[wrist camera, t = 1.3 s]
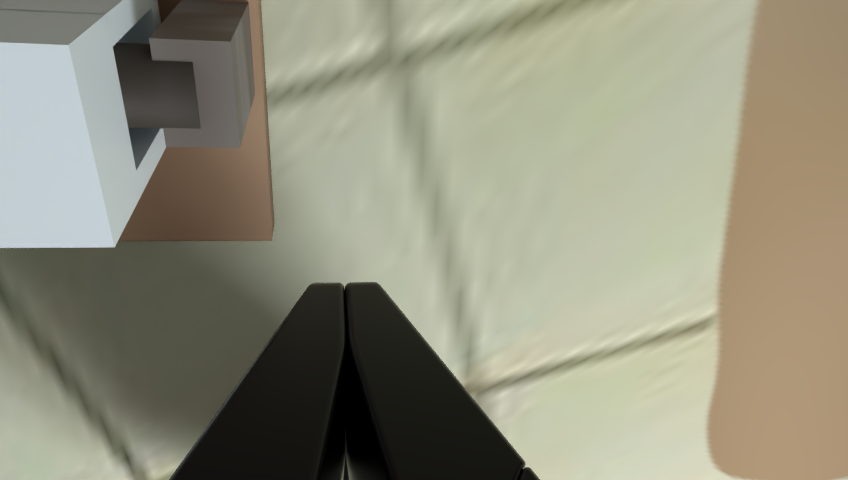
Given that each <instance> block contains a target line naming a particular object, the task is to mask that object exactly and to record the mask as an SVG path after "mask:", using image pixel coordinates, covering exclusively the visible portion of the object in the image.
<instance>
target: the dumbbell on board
mask: <svg viewBox="0 0 848 480" xmlns="http://www.w3.org/2000/svg"><path fill="white" fill-rule="evenodd" d="M158 7H159V14H160V20H161V25H160V26H159V27H158V28H157V29H156V30H155V32H154V33H153V34H152V35H151V36H150V37H149V43H150V44H141V43H116V44H115V45H114V46H113V51H114V56H115V61H116V67H117V72H118V77H119V82H120V88H121V93H122V98H123V103H124V109H125V114H126V119H127V124H128V128H158V129H163V131H164V137H165V144H166V148H165V150H164V152H163V154H162V156H161V158H160V160H159V162H158V164H157V166H156V168H155V170H154V172H153V174H152V176H151V178H150V180H149V181H148V183H147V185H146V187H145V189H144V191H143V193H142V195H141V197H140V199H139V201H138V203H137V205H136V207H135V209H134V211H133V213H132V215H131V217H130V218H129V220H128V222H127V224H126V226H125V228H124V230H123V232H122V234H121V236H120V238H119V240H118V241H272V236H273V229H274V212H273V196H272V179H271V162H270V146H269V129H268V112H267V96H266V79H265V63H264V46H263V29H262V13H261V0H158Z"/></svg>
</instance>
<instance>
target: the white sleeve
mask: <svg viewBox="0 0 848 480" xmlns="http://www.w3.org/2000/svg"><path fill="white" fill-rule="evenodd" d="M160 25H161V20H160V14H159V7H158V0H0V248H106V247H115V246H116V244H117V242H118V240H119V238H120V236H121V234H122V232H123V230H124V228H125V226H126V224H127V222H128V220H129V218H130V217H131V215H132V213H133V211H134V209H135V207H136V205H137V203H138V201H139V199H140V197H141V195H142V193H143V191H144V189H145V187H146V185H147V183H148V181H149V180H150V178H151V176H152V174H153V172H154V170H155V168H156V166H157V164H158V162H159V160H160V158H161V156H162V154H163V152H164V150H165V148H166V144H165V137H164V131H163V129H158V128H128V124H127V119H126V114H125V109H124V103H123V98H122V93H121V88H120V82H119V77H118V72H117V67H116V61H115V56H114V51H113V46H114V45H115V44H116V43H141V44H150V43H149V37H150V36H151V35H152V34H153V33H154V32H155V30H156V29H157V28H158V27H159V26H160Z"/></svg>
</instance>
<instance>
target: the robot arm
mask: <svg viewBox="0 0 848 480" xmlns="http://www.w3.org/2000/svg"><path fill="white" fill-rule="evenodd" d="M169 480H540V479H539V478H538V477H537V476H536V474H535V473H534V472H533V471H532V469H531V468H529V467H526V468H525V462H524V460H523V459H522V458H521V456H520V455H519V454H518V453H517V452H516V450H515V449H514V448H513V447H512V445H511V444H510V443H509V442H508V441H507V439H506V438H505V437H504V436H503V434H502V433H501V432H500V431H499V430H498V428H497V427H496V426H495V425H494V423H493V422H492V421H491V420H490V419H489V417H488V416H487V415H486V414H485V412H484V411H483V410H482V409H481V408H480V406H479V405H478V404H477V403H476V402H475V400H474V399H473V398H472V397H471V395H470V394H469V393H468V392H467V391H466V389H465V388H464V387H463V386H462V384H461V383H460V382H459V381H458V380H457V378H456V377H455V376H454V375H453V373H452V372H451V371H450V370H449V369H448V367H447V366H446V365H445V364H444V362H443V361H442V360H441V359H440V358H439V356H438V355H437V354H436V353H435V351H434V350H433V349H432V348H431V347H430V345H429V344H428V343H427V342H426V341H425V339H424V338H423V337H422V336H421V334H420V333H419V332H418V331H417V330H416V328H415V327H414V326H413V325H412V323H411V322H410V321H409V320H408V319H407V317H406V316H405V315H404V314H403V312H402V311H401V310H400V309H399V308H398V306H397V305H396V304H395V303H394V301H393V300H392V299H391V298H390V297H389V295H388V294H387V293H386V292H385V290H384V289H383V288H382V287H381V286H380V285H379V284H378V283H376V282H353V283H348V284H347V285H346V286H345V290H344V286H343V284H341V283H312V284H311V285H309V287H308V288H307V289H306V291H305V292H304V293H303V295H302V296H301V297H300V299H299V300H298V302H297V303H296V304H295V306H294V307H293V309H292V310H291V311H290V313H289V314H288V315H287V317H286V318H285V320H284V321H283V322H282V324H281V325H280V327H279V328H278V329H277V331H276V332H275V333H274V335H273V336H272V338H271V339H270V340H269V342H268V343H267V345H266V346H265V347H264V349H263V350H262V352H261V353H260V354H259V356H258V357H257V358H256V360H255V361H254V363H253V364H252V365H251V367H250V368H249V370H248V371H247V372H246V374H245V375H244V376H243V378H242V379H241V381H240V382H239V383H238V385H237V386H236V388H235V389H234V390H233V392H232V393H231V395H230V396H229V397H228V399H227V400H226V401H225V403H224V404H223V406H222V407H221V408H220V410H219V411H218V413H217V414H216V415H215V417H214V418H213V419H212V421H211V422H210V424H209V425H208V426H207V428H206V429H205V431H204V432H203V433H202V435H201V436H200V437H199V439H198V440H197V442H196V443H195V444H194V446H193V447H192V449H191V450H190V451H189V453H188V454H187V456H186V457H185V458H184V460H183V461H182V462H181V464H180V465H179V467H178V468H177V469H176V471H175V472H174V474H173V475H172V476H171V478H170V479H169Z"/></svg>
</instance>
